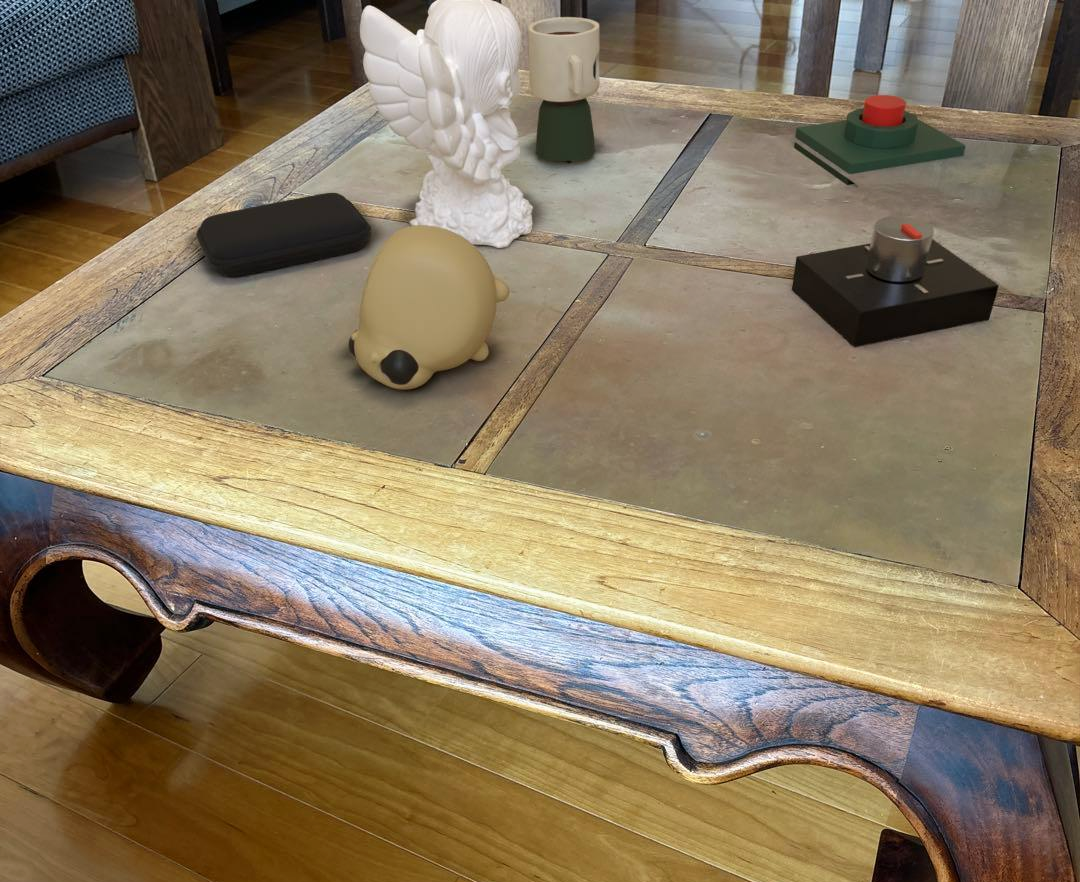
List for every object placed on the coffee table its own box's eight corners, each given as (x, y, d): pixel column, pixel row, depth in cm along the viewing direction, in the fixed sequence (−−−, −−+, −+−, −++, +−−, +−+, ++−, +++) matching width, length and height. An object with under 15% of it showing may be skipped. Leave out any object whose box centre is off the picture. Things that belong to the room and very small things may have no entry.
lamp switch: (900, 131, 112) (907, 93, 109) (960, 167, 104) (970, 127, 101) (793, 148, 109) (798, 109, 107) (847, 185, 101) (854, 145, 99)
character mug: (612, 172, 105) (615, 36, 97) (546, 181, 104) (542, 44, 96) (583, 137, 114) (583, 8, 105) (521, 144, 112) (515, 15, 104)
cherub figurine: (565, 238, 94) (562, -2, 81) (445, 274, 89) (421, 26, 76) (494, 192, 102) (481, -32, 89) (381, 223, 98) (349, -9, 85)
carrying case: (346, 210, 100) (194, 240, 96) (341, 179, 98) (186, 209, 94) (379, 252, 93) (216, 287, 88) (374, 220, 91) (208, 254, 87)
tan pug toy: (404, 379, 83) (296, 329, 75) (478, 247, 81) (375, 182, 73) (466, 431, 77) (355, 383, 69) (548, 290, 74) (443, 223, 67)
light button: (888, 113, 106) (892, 92, 105) (910, 125, 103) (914, 104, 102) (853, 118, 105) (857, 97, 104) (874, 131, 102) (878, 110, 101)
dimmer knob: (856, 261, 82) (864, 215, 80) (906, 254, 83) (916, 208, 80) (882, 285, 79) (892, 239, 76) (934, 278, 80) (946, 231, 77)
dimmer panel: (917, 266, 88) (925, 231, 86) (989, 320, 80) (1000, 283, 78) (791, 289, 85) (796, 254, 83) (854, 347, 78) (861, 310, 76)
